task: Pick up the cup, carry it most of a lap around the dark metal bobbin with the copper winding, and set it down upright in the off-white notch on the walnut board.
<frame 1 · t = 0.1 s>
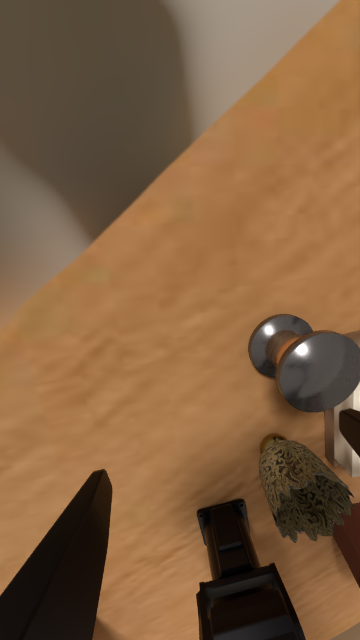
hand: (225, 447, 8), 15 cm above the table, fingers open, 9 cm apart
cup: (271, 441, 27), on the table
bobbin: (279, 345, 24), on the table
muffin: (357, 520, 33), on the table
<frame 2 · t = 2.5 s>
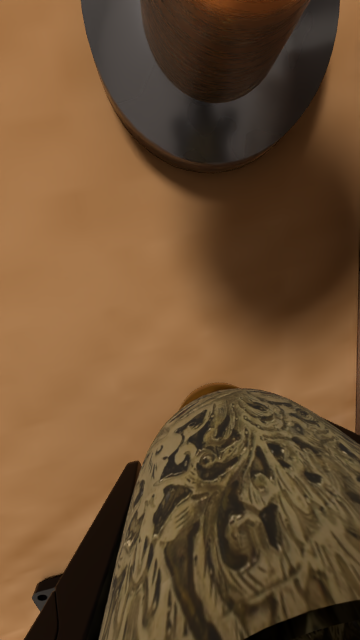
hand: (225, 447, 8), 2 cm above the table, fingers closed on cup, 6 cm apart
cup: (212, 408, 10), on the table, touching gripper
bobbin: (209, 41, 7), on the table
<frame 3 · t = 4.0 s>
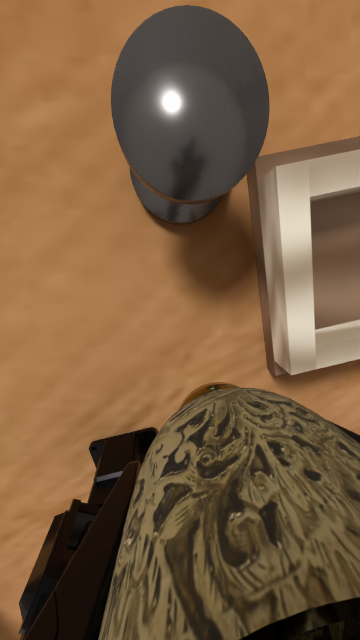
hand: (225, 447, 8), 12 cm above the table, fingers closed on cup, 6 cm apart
cup: (212, 407, 10), point 9 cm above the table, touching gripper
bobbin: (179, 172, 16), on the table
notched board: (325, 265, 19), on the table
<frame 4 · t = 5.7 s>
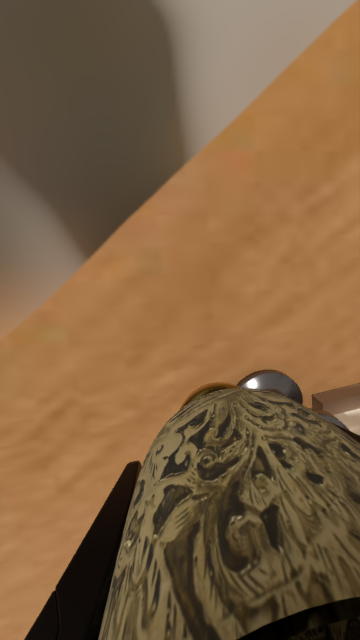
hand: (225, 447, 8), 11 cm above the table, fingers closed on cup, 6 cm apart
cup: (213, 408, 10), point 9 cm above the table, touching gripper
bobbin: (263, 402, 21), on the table
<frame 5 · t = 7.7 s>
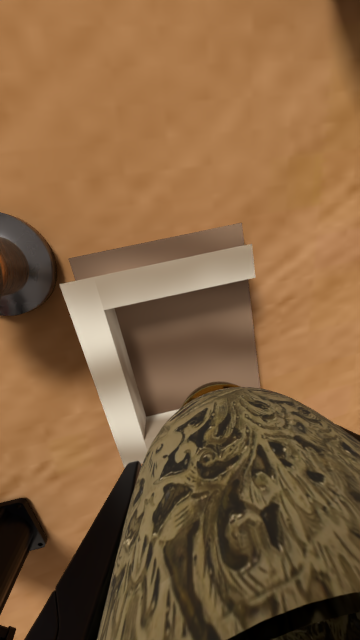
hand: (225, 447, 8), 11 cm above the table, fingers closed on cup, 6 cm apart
cup: (214, 407, 10), point 9 cm above the table, touching gripper
bobbin: (5, 266, 16), on the table
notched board: (179, 345, 18), on the table
when the fingers open (5 cm above the table, at t = 9.1 s): cup drops 2 cm, resting on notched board.
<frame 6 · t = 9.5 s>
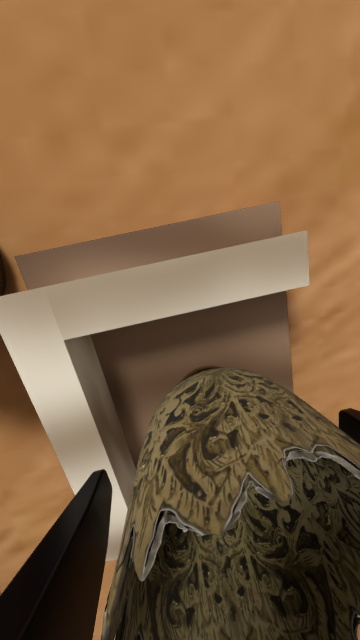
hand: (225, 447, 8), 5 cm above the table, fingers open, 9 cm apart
cup: (205, 387, 12), point 1 cm above the table, touching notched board
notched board: (184, 377, 13), on the table
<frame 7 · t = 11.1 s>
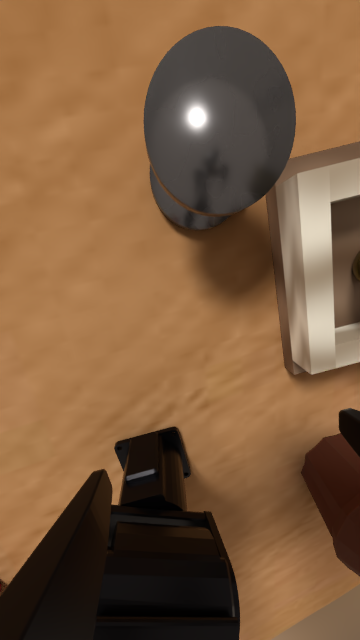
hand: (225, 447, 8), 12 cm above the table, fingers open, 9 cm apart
bobbin: (197, 179, 16), on the table
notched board: (341, 264, 19), on the table
muffin: (335, 461, 26), on the table
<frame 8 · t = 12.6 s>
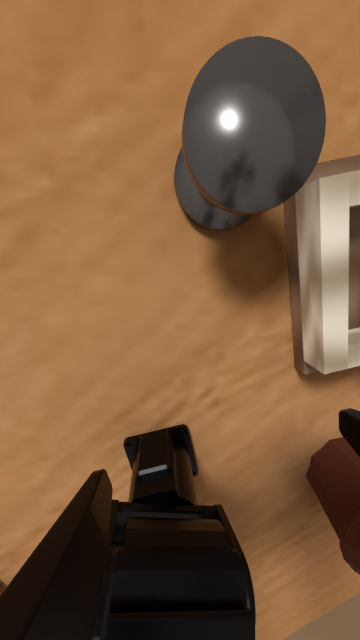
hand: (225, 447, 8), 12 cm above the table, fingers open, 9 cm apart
bobbin: (219, 181, 17), on the table
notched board: (353, 269, 19), on the table
muffin: (340, 464, 26), on the table
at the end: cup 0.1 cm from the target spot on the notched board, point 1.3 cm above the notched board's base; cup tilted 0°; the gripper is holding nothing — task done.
